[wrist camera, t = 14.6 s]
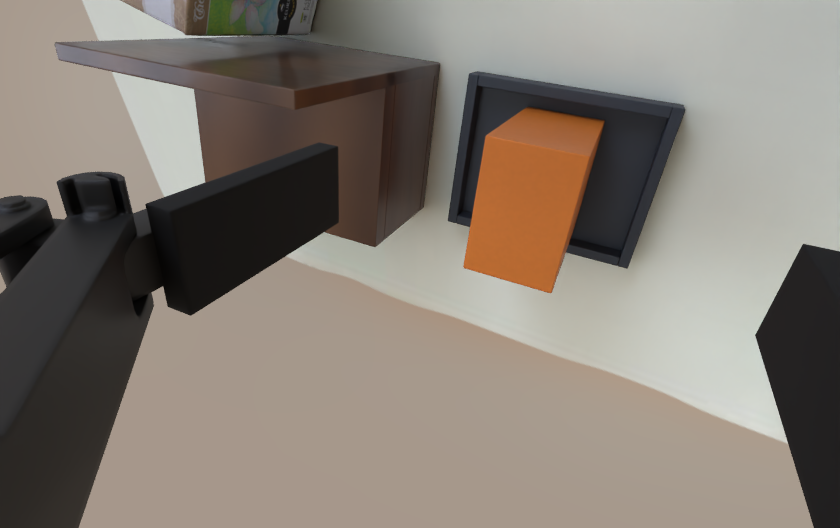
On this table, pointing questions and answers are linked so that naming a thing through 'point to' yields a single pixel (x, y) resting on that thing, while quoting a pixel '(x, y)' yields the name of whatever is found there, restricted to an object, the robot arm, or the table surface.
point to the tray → (612, 167)
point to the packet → (530, 195)
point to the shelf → (299, 112)
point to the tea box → (232, 16)
